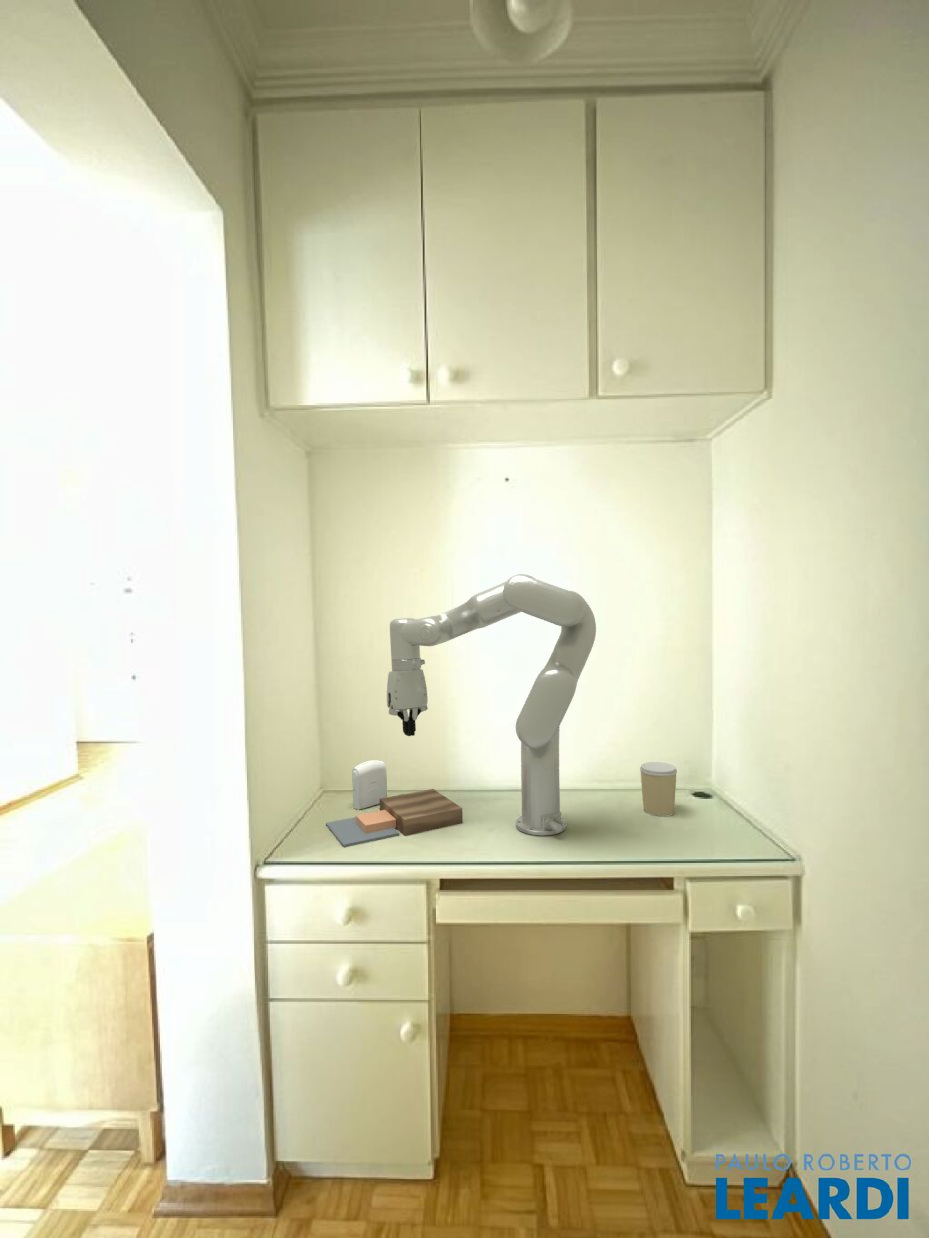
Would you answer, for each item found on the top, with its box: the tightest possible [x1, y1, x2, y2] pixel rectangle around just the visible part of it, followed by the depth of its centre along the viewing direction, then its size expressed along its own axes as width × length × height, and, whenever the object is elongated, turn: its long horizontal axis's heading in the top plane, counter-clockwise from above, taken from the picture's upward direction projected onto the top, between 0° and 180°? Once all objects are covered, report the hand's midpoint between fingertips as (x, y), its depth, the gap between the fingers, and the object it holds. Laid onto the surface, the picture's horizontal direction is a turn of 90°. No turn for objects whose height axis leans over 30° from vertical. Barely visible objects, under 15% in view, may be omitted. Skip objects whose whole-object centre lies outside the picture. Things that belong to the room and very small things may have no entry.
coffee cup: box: [639, 761, 678, 817], centre depth 161 cm, size 9×9×12 cm
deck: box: [379, 788, 464, 837], centre depth 159 cm, size 18×16×4 cm
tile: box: [355, 810, 396, 833], centre depth 154 cm, size 8×8×2 cm
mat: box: [325, 816, 400, 848], centre depth 152 cm, size 16×14×1 cm
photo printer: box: [351, 759, 388, 810], centre depth 171 cm, size 10×4×12 cm, turn 133°
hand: (409, 734), depth 159 cm, fingers closed
